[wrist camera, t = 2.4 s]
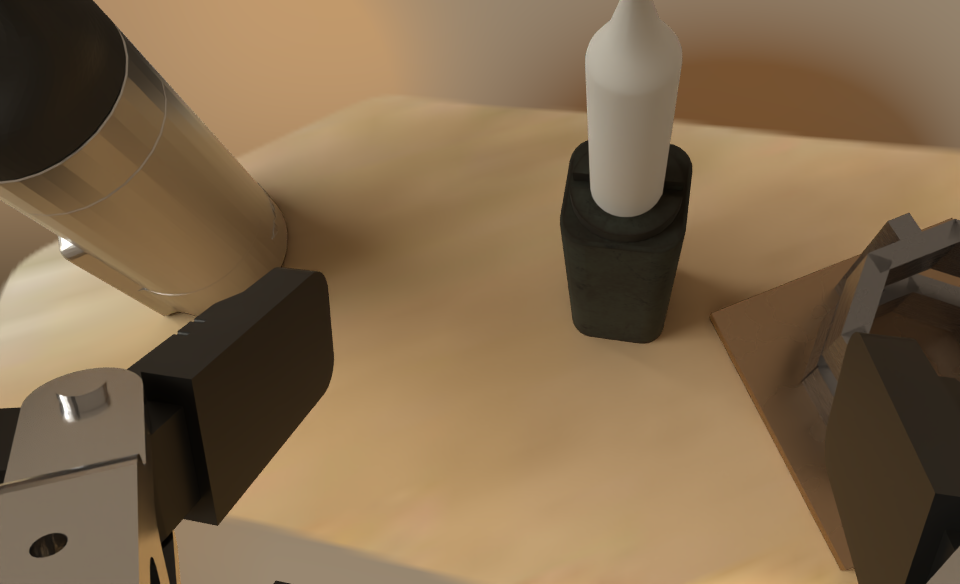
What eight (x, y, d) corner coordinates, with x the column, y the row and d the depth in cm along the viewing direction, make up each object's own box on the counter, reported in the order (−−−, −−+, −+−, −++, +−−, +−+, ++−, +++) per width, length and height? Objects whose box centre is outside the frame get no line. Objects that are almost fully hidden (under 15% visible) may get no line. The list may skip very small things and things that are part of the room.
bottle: (582, 252, 44) (556, -105, 21) (670, 262, 43) (747, -104, 20) (569, 333, 42) (525, 44, 19) (660, 346, 41) (732, 56, 18)
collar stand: (840, 570, 36) (912, 569, 27) (709, 317, 41) (735, 253, 33) (1113, 464, 36) (1268, 431, 27) (945, 224, 41) (1032, 135, 33)
